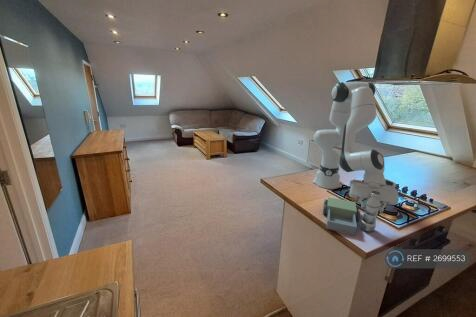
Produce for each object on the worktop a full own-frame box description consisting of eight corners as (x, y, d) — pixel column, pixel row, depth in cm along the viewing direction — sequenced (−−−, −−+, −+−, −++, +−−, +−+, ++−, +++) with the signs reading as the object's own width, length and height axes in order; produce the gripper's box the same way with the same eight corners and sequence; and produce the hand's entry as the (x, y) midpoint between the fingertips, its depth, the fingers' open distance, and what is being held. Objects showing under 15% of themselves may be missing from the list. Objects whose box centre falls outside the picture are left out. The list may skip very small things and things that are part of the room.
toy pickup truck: (323, 205, 129) (325, 196, 127) (356, 211, 123) (358, 202, 121) (321, 227, 109) (323, 217, 107) (360, 236, 103) (363, 225, 101)
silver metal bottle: (358, 230, 107) (367, 193, 101) (360, 223, 113) (368, 188, 106) (373, 235, 104) (383, 197, 98) (374, 228, 109) (384, 191, 103)
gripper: (351, 176, 110) (348, 203, 105) (399, 183, 103) (399, 212, 98) (349, 181, 116) (346, 206, 111) (395, 188, 109) (394, 216, 103)
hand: (371, 209), depth 104 cm, fingers closed on silver metal bottle, 6 cm apart
